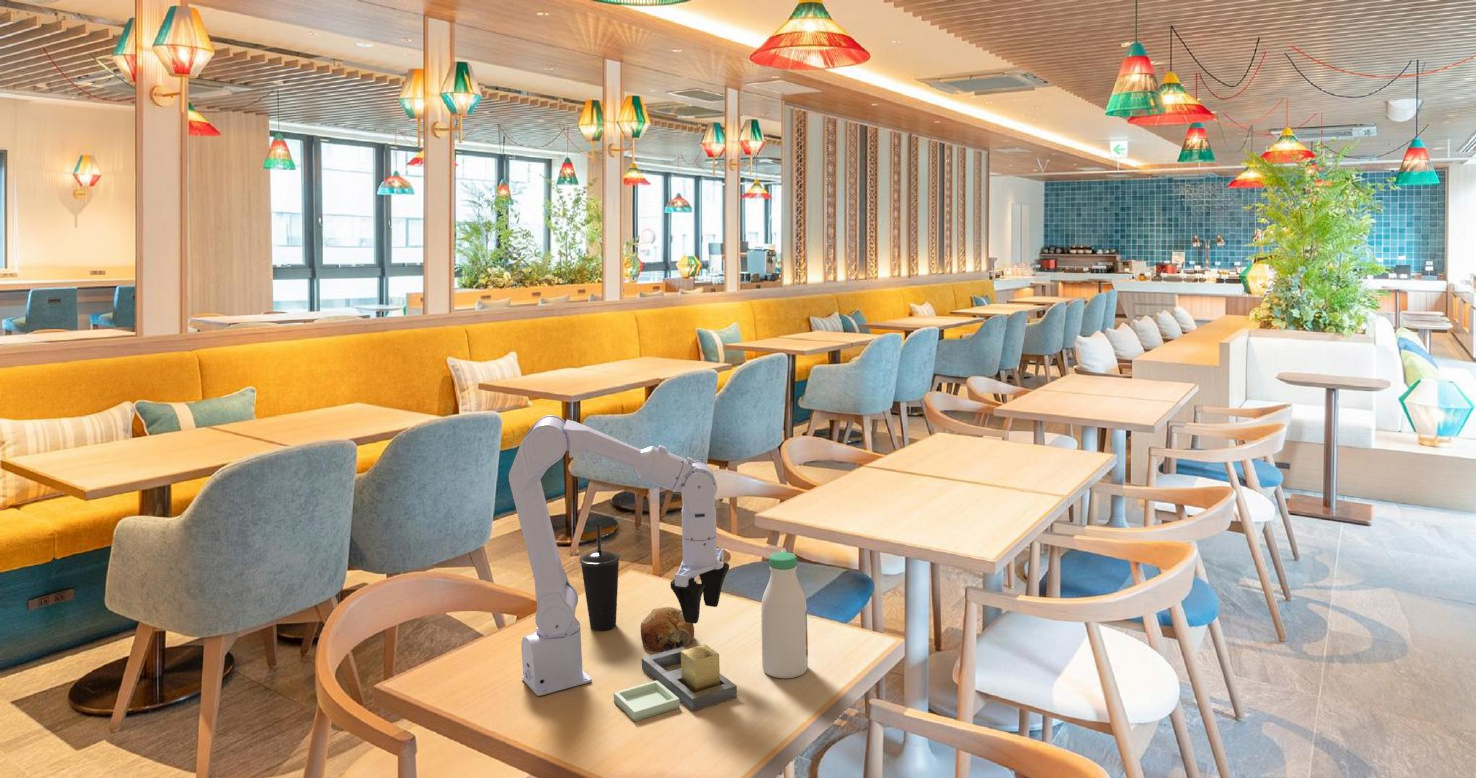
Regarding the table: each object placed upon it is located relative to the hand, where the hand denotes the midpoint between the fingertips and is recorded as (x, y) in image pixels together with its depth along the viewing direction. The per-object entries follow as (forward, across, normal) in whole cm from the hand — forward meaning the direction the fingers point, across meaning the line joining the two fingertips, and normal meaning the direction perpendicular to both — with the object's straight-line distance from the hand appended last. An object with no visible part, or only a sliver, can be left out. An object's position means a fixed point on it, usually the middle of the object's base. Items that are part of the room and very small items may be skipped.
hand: (701, 613), depth 160 cm
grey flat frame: (+10, -5, 0) cm, 11 cm away
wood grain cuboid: (+10, -8, -4) cm, 13 cm away
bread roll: (+10, +8, +11) cm, 17 cm away
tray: (+10, -14, +3) cm, 18 cm away
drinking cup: (+10, +10, +26) cm, 30 cm away
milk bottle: (+10, +5, -13) cm, 17 cm away
